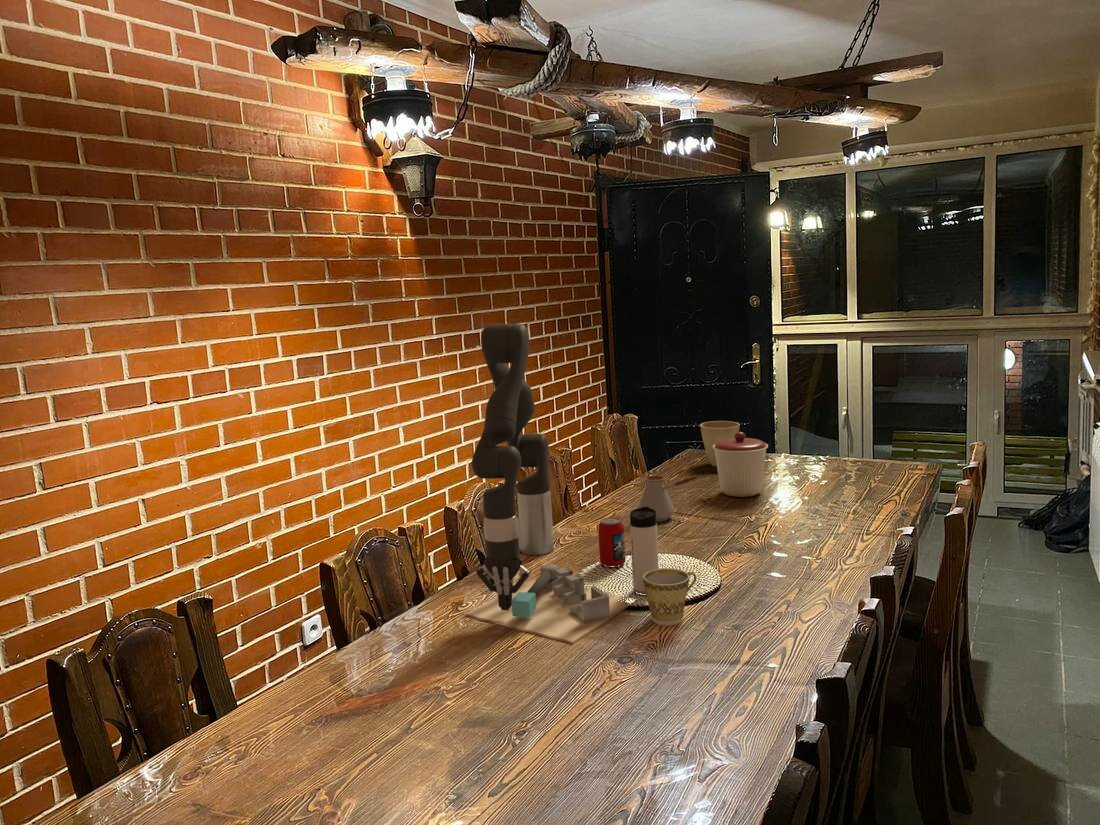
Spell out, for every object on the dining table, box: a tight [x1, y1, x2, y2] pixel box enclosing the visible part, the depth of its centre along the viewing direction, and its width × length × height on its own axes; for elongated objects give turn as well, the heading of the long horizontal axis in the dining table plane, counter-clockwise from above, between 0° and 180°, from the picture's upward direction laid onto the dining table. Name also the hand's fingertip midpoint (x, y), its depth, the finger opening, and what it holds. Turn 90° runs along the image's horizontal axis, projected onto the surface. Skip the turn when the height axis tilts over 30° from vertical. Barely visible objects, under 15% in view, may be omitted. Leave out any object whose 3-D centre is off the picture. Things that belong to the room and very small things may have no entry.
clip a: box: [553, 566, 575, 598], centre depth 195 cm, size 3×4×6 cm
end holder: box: [570, 585, 611, 624], centre depth 182 cm, size 7×7×5 cm
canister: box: [713, 431, 769, 498], centre depth 274 cm, size 18×18×21 cm
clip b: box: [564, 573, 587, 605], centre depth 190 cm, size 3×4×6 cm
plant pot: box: [699, 420, 741, 467], centre depth 317 cm, size 15×15×16 cm
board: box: [465, 576, 633, 645], centre depth 189 cm, size 30×26×2 cm
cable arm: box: [512, 563, 559, 617], centre depth 191 cm, size 25×4×4 cm, turn 164°
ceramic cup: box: [643, 567, 697, 627], centre depth 179 cm, size 13×10×10 cm
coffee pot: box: [637, 475, 702, 522], centre depth 250 cm, size 21×12×15 cm, turn 53°
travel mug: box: [629, 506, 660, 594], centre depth 194 cm, size 6×7×20 cm
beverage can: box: [598, 516, 626, 567], centre depth 214 cm, size 7×7×12 cm
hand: (506, 608), depth 183 cm, fingers closed
